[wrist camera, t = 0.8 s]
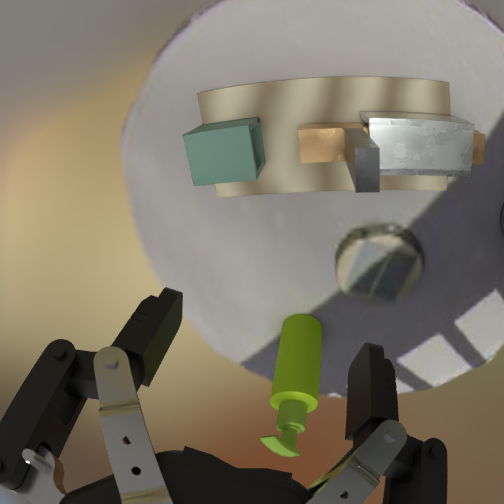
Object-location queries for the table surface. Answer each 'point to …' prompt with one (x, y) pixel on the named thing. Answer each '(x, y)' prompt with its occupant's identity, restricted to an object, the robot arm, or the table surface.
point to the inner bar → (356, 150)
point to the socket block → (225, 151)
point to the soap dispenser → (295, 381)
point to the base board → (318, 112)
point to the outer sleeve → (421, 143)
